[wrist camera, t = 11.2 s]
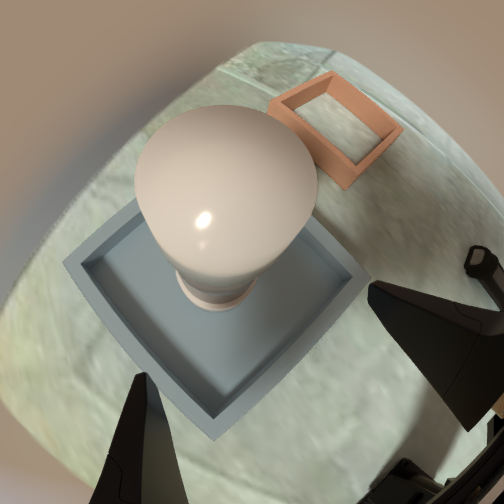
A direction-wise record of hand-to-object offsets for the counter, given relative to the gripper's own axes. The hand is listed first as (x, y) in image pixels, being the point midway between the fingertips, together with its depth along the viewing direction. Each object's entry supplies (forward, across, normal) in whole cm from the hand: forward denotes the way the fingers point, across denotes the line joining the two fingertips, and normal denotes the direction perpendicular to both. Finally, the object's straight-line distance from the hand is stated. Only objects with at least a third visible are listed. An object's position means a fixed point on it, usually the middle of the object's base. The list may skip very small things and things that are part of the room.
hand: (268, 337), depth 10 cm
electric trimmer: (0, -26, +13) cm, 29 cm away
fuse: (+8, 0, +2) cm, 9 cm away
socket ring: (+16, -14, -4) cm, 21 cm away
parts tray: (+9, 0, +3) cm, 9 cm away
